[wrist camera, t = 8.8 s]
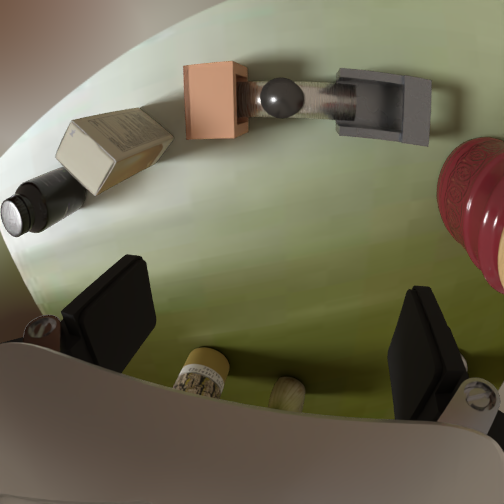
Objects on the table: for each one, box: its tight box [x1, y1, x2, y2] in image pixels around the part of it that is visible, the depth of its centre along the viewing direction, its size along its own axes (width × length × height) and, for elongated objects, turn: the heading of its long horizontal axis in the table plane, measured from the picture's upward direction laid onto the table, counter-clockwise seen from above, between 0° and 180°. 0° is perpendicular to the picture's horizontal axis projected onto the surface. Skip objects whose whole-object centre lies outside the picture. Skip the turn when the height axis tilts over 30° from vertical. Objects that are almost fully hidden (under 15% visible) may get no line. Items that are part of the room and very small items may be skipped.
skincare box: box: [55, 108, 174, 196], centre depth 28 cm, size 6×4×12 cm
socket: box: [183, 61, 249, 140], centre depth 28 cm, size 4×7×6 cm, turn 1°
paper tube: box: [173, 347, 230, 399], centre depth 37 cm, size 7×7×25 cm
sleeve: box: [336, 68, 432, 147], centre depth 25 cm, size 8×6×6 cm
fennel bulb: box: [268, 377, 305, 413], centre depth 42 cm, size 6×5×12 cm
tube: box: [236, 78, 357, 121], centre depth 24 cm, size 12×4×10 cm, turn 91°
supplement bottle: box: [1, 167, 86, 237], centre depth 34 cm, size 7×7×12 cm
